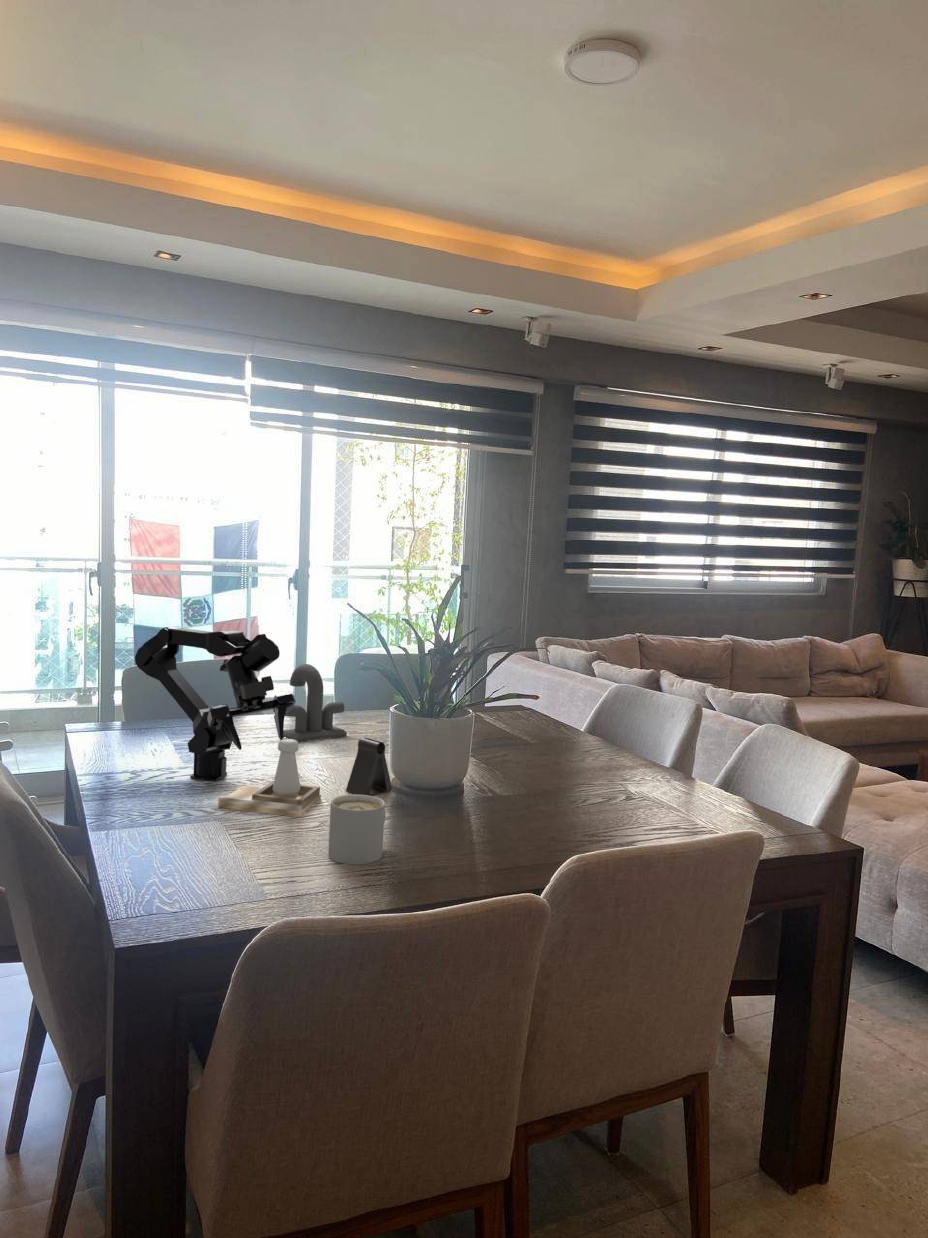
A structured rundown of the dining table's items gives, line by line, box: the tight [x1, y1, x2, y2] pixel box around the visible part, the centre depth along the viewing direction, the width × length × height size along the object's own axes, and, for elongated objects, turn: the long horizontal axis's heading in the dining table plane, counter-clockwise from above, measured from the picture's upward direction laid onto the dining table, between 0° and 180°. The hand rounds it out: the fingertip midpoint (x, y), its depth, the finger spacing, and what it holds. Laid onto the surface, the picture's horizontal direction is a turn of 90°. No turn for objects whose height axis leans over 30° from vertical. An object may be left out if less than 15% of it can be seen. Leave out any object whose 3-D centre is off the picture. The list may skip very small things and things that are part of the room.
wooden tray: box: [217, 780, 322, 818], centre depth 201 cm, size 18×13×3 cm
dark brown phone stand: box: [345, 737, 393, 797], centre depth 214 cm, size 9×6×12 cm, turn 139°
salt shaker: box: [273, 738, 301, 798], centre depth 200 cm, size 6×6×13 cm
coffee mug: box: [327, 794, 386, 865], centre depth 174 cm, size 13×10×10 cm
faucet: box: [283, 663, 348, 743], centre depth 267 cm, size 18×16×20 cm
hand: (261, 744), depth 205 cm, fingers open, 9 cm apart
